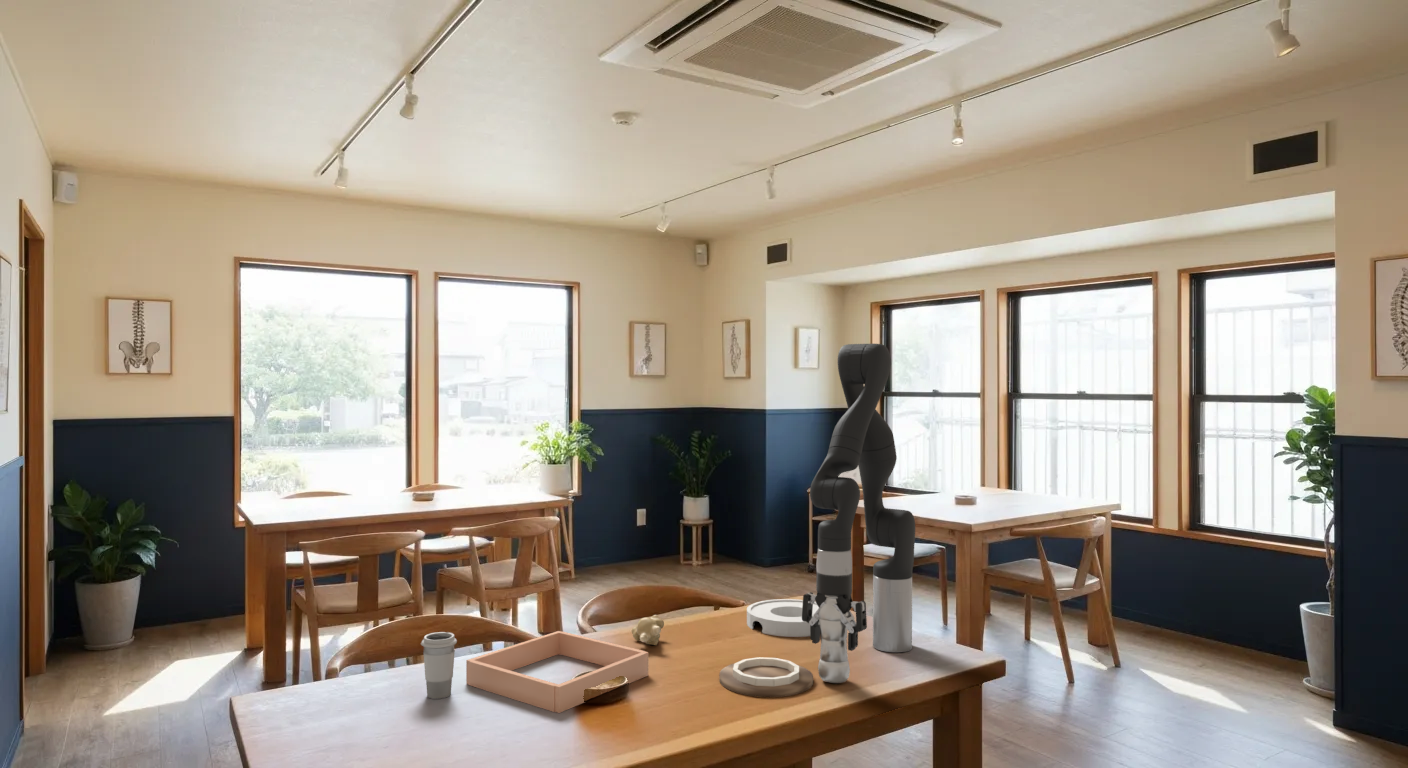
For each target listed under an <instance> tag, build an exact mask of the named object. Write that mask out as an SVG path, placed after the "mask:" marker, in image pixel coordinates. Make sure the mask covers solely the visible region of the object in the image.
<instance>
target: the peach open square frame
mask: <svg viewBox="0 0 1408 768" xmlns="http://www.w3.org/2000/svg"><path fill="white" fill-rule="evenodd" d="M557 655H561V656H565V657H568V658H572V659H576V660H581V661H584V662H587V663H592V664H596V665H600V666H603V667H600V668H598V669H595V670H592V671H590V672H587V673H585V674H582V675H580V676H577V677H574V678H571V679H569V680H567V681H564V682H561V683H559V684H558V683H555V682H551V681H548V680H545V679H544V680H543V679H540V678H538V677H534V676H531V675H526V674H524V673H519V672H517V671H514V670H518V669H520V668H523V667H526V666H528V665H531V664H534V663H537V662H540V661H543V660H546V659H548V658H552V657H555V656H557ZM465 666H466V667H465V668H466V671H465V672H466V679H465V681H466V683H465V684H466V685H469V686H471V687H474V688H477V689H479V690H480V689H481V690H483V691H486V692H489V693H493V694H496V695H499V696H502V697H504V698H509V699H512V700H515V701H518V702H522V703H524V704H528V705H530V706H534V707H537V708H540V709H544V710H547V711H550V712H553V713H558V714H560V713H563V712H565V711H567V710H569V709H572V708H574V707H578V706H579V705H582V704H584V703H585V702H584V699H583V698H584V697H583V696H584V690H585V689H587V688H591V687H596V686H598V685H600V684H602V683H605V682H607V681H609V680H612V679H615V678H616V677H619V676H624V677H626V678H627V680H628V683H629V684H631V683H634V682H636V681H639V680H641V679H643V678H645V677H647V676H649V652H648V651H645V650H641V649H637V648H633V647H629V646H625V645H620V644H617V643H611V642H608V641H603V640H601V639H600V640H599V639H595V638H591V637H587V636H582V635H579V634H575V633H569V632H567V631H561V630H557V631H554V632H551V633H548V634H544V635H542V636H538V637H535V638H532V639H529V640H526V641H522V642H519V643H516V644H512V645H510V646H506V647H503V648H501V649H497V650H494V651H491V652H488V653H486V654H481V655H477V656H476V657H472V658H469V659H466V665H465Z"/></svg>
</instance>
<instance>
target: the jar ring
mask: <svg viewBox="0 0 1408 768" xmlns="http://www.w3.org/2000/svg"><path fill="white" fill-rule="evenodd" d="M733 664H734V663H733ZM798 665H799V664H796V663H795V662H793V661H791V660H788V659H782V658H777V657H762V656H761V657H759V656H758V657H751V658H743V659H741V660H739V661H737V662H735V664H734V667H733V677H734V678H736V679H737V680H739V681H740V682H743V683H747V684H751V685H755V686H780V685H786V684H791V683H793V682H794V681H796V680H798V679H799V666H798ZM753 666H776V667H781V668H785V669H788V670H790V671H791V672H792V673H790V674H788V675H786V676H779V677H756V676H752V675H747V674H744V673H743V672H741V671H740V670H742V669H744V668H747V667H753Z"/></svg>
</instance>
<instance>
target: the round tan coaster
mask: <svg viewBox="0 0 1408 768" xmlns="http://www.w3.org/2000/svg"><path fill="white" fill-rule="evenodd" d="M735 663H736V662H735ZM735 663H731V664H728V665H726V666H725V667H723V668H722V669H720V671H719V678H718V679H719V683H720V685H721V686H722V687H724V688H725V689H727V690H729V691H731V692H734V693H735V694H740V695H745V696H750V697H757V696H758V698H779V697H780V698H781V697H782V698H783V697H789V696H795V695H799V694H802V693H804V692H806V691H808V690H810V689H811V688H812V686H813V684H814V674H813V673H812V672H811V671H810V670H809V669H808V668H806V667H804V666H802V665H799V664H797V665H798V666H799V679H798V680H796V681H794V682H793V683H791V684H786V685H780V686H755V685H751V684H747V683H743V682H740V681H739V680H737V679H736V678H734V677H733V667H734V664H735ZM740 671H741V672H743V673H744V674H747V675H752V676H756V677H779V676H786V675H788V674H790V673H792V672H791V671H790V670H788V669H785V668H781V667H776V666H753V667H747V668H744V669H742V670H740Z"/></svg>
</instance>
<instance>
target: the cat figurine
mask: <svg viewBox="0 0 1408 768" xmlns="http://www.w3.org/2000/svg"><path fill="white" fill-rule="evenodd" d="M664 626H665V621H664V619H662V618H661V617H660V616H659V615H658V614H653V615H652V616H651V617H642V618H641V619H639V621H638V622H637V625H636V626H634V627H633V628H632V629H631V634H632V637H633V639H634V640H635V641H636V642H642V643H645V644H646V645H651V646H658V643H659V640H660V638H661V633H662V629H663V628H664Z"/></svg>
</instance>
